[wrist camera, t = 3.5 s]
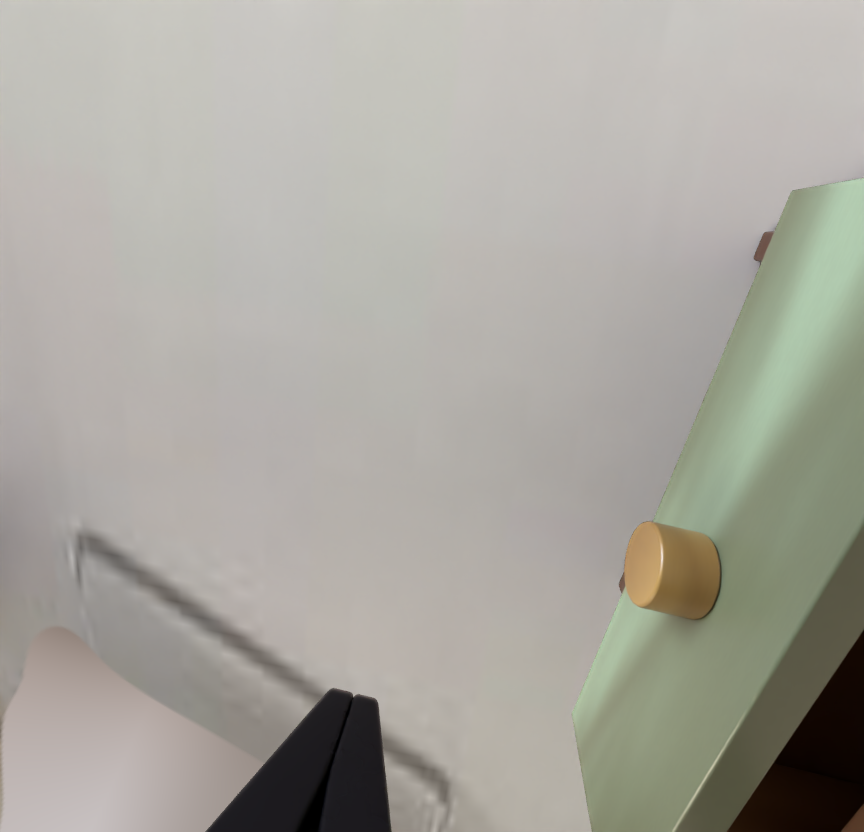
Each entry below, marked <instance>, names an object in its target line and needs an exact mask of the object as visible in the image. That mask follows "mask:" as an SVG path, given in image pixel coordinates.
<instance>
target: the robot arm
mask: <svg viewBox="0 0 864 832" xmlns="http://www.w3.org/2000/svg"><path fill="white" fill-rule="evenodd" d="M206 832H392V831H391V822H390V812H389V802H388V793H387V783H386V774H385V764H384V755H383V745H382V735H381V726H380V716H379V707H378V702H377V700H376V699H375V698H372V697H368V696H364V695H360V694H357V695H355V696H354V698H353V694H352V693H351V692H348V691H344V690H340V689H336V688H332V689H330V690H329V691H328V692H327V693H326V694H325V695H324V696H323V697H322V698H321V700H320V701H319V702H318V703H317V704H316V705H315V706H314V708H313V709H312V710H311V711H310V712H309V713H308V714H307V716H306V717H305V718H304V719H303V720H302V721H301V723H300V724H299V725H298V726H297V727H296V728H295V729H294V731H293V732H292V733H291V734H290V735H289V736H288V737H287V739H286V740H285V741H284V742H283V743H282V744H281V745H280V747H279V748H278V749H277V750H276V751H275V752H274V754H273V755H272V756H271V757H270V758H269V759H268V760H267V762H266V763H265V764H264V765H263V766H262V767H261V769H260V770H259V771H258V772H257V773H256V774H255V776H254V777H253V778H252V779H251V780H250V781H249V782H248V783H247V785H246V786H245V787H244V788H243V789H242V790H241V792H240V793H239V794H238V795H237V796H236V797H235V798H234V800H233V801H232V802H231V803H230V804H229V805H228V806H227V808H226V809H225V810H224V811H223V812H222V813H221V814H220V816H219V817H218V818H217V819H216V820H215V821H214V822H213V824H212V825H211V826H210V827H209V828H208V829H207V831H206Z"/></svg>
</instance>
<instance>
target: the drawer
mask: <svg viewBox="0 0 864 832" xmlns="http://www.w3.org/2000/svg"><path fill="white" fill-rule="evenodd" d="M624 575H625V585H626V586H625V588H624V591H623V593H622V595H621V598H620V600H619V603H618V605H617V607H616V610H615V612H614V614H613V617H612V619H611V622H610V624H609V626H608V629H607V631H606V633H605V636H604V638H603V641H602V643H601V645H600V648H599V650H598V652H597V655H596V657H595V660H594V662H593V664H592V667H591V669H590V671H589V674H588V676H587V679H586V681H585V683H584V686H583V688H582V691H581V693H580V695H579V698H578V700H577V702H576V705H575V707H574V710H573V712H572V718H573V724H574V730H575V736H576V742H577V748H578V753H579V759H580V765H581V771H582V777H583V783H584V788H585V794H586V800H587V806H588V812H589V817H590V823H591V829H592V832H841V830H842V829H843V828H844V827H845V826H846V824H847V823H848V822H849V821H850V820H851V818H852V817H853V816H854V815H855V813H856V812H857V811H858V810H859V809H860V807H861V806H862V805H863V804H864V178H859V179H854V180H848V181H842V182H837V183H831V184H826V185H820V186H815V187H809V188H803V189H798V190H793V191H792V192H791V193H790V196H789V198H788V201H787V203H786V205H785V208H784V210H783V212H782V215H781V217H780V220H779V222H778V224H777V227H776V229H775V231H774V234H773V236H772V239H771V241H770V243H769V246H768V248H767V250H766V253H765V255H764V258H763V260H762V262H761V265H760V267H759V270H758V272H757V274H756V277H755V279H754V281H753V284H752V286H751V289H750V291H749V293H748V296H747V298H746V300H745V303H744V305H743V308H742V310H741V312H740V315H739V317H738V319H737V322H736V324H735V327H734V329H733V331H732V334H731V336H730V338H729V341H728V343H727V346H726V348H725V350H724V353H723V355H722V358H721V360H720V362H719V365H718V367H717V369H716V372H715V374H714V377H713V379H712V381H711V384H710V386H709V388H708V391H707V393H706V396H705V398H704V400H703V403H702V405H701V407H700V410H699V412H698V415H697V417H696V419H695V422H694V424H693V426H692V429H691V431H690V434H689V436H688V438H687V441H686V443H685V446H684V448H683V450H682V453H681V455H680V457H679V460H678V462H677V465H676V467H675V469H674V472H673V474H672V476H671V479H670V481H669V484H668V486H667V488H666V491H665V493H664V495H663V498H662V500H661V503H660V505H659V507H658V510H657V512H656V515H655V517H654V519H653V522H651V521H647V522H643V523H641V524H640V525H639V526H638V527H637V528H636V529H635V531H634V533H633V534H632V536H631V539H630V541H629V544H628V548H627V552H626V557H625V567H624Z"/></svg>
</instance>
